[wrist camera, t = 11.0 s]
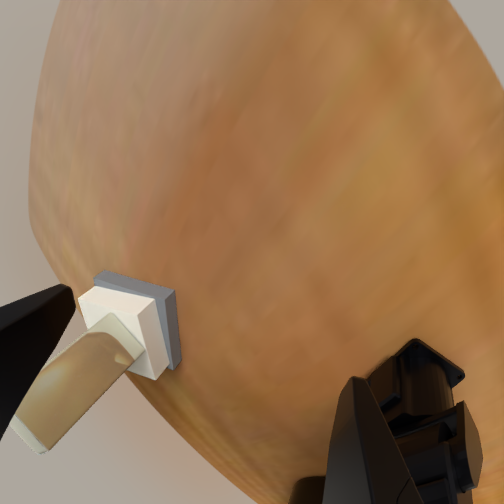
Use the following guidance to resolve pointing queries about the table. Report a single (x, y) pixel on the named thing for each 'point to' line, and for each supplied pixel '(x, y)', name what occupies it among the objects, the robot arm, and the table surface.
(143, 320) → the tower top
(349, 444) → the robot arm
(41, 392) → the skincare box
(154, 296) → the tower bottom
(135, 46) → the table surface
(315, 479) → the ink bottle
